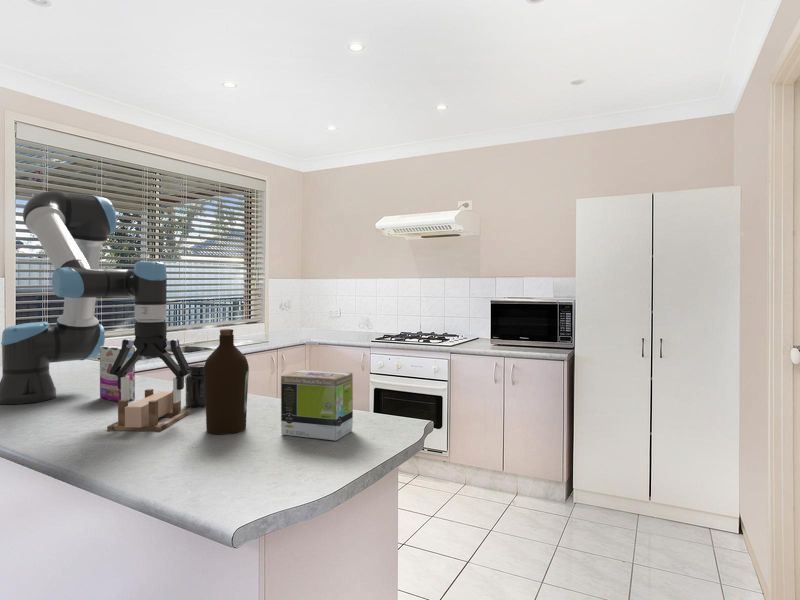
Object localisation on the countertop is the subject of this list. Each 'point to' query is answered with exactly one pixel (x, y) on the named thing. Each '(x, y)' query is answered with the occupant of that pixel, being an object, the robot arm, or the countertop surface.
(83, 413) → the countertop surface
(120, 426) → the rack
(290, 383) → the tea box
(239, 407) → the olive oil
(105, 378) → the candy bar box
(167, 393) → the clay strip
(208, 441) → the countertop surface
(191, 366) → the supplement bottle
